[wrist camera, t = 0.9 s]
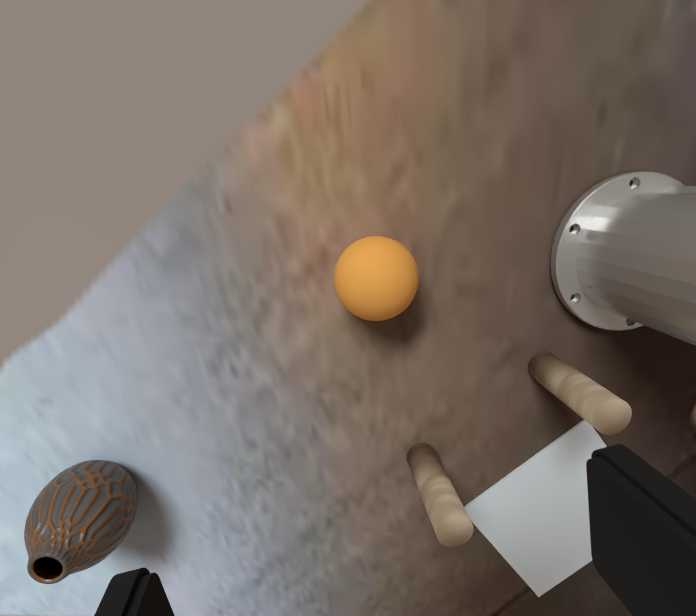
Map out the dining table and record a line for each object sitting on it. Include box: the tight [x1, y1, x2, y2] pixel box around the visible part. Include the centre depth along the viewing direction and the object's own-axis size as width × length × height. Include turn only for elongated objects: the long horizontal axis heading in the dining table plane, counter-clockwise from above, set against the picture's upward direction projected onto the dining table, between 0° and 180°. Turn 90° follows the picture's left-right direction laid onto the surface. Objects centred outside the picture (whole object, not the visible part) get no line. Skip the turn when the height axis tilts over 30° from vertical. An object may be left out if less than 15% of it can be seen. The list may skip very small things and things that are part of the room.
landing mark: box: [464, 420, 607, 597], centre depth 42 cm, size 14×14×1 cm
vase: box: [24, 460, 138, 584], centre depth 33 cm, size 7×7×9 cm
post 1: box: [407, 443, 473, 547], centre depth 35 cm, size 3×3×9 cm
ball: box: [334, 236, 419, 321], centre depth 32 cm, size 6×6×6 cm
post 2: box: [528, 352, 632, 435], centre depth 34 cm, size 3×3×9 cm
